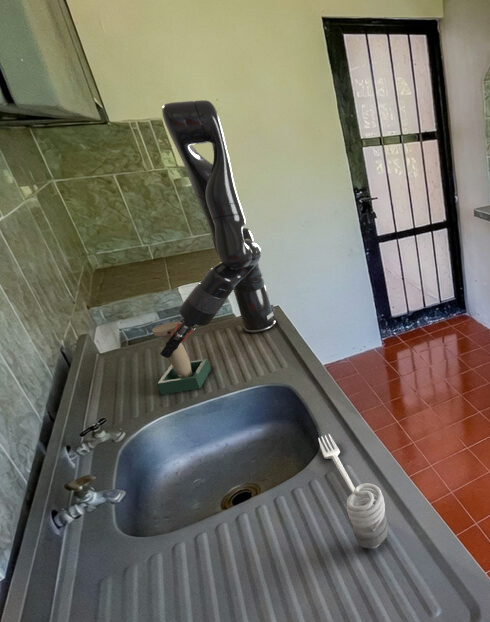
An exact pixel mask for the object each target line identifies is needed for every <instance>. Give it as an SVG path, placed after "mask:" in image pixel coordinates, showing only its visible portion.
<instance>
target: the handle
mask: <svg viewBox="0 0 490 622" xmlns="http://www.w3.org/2000/svg"><path fill="white" fill-rule="evenodd" d="M178 323H179V321H172V322H167V323H164V324H160V325H158V326H155V327H153V328H152V329H151V332H152V334H153V336H155V337H158V338H162V340H163V342H164V346H166V343H167V342H168V341H169V339H170V338H171V334H172V332H173V331H174V330H175V328H176V327H177V326H176V325H177V324H178ZM178 329H179V328H178ZM176 332H177V331H176ZM168 359H169V362H170V365H171V364H172V366H173V368H174V370H175V372H176V373H177V374H178V377H179V378H185V377H190V376H192V371H191V364H190V361H191V360H190V357H189V354H188V353H187V351H186V349H185V346H184V344H183V342H181V343H180V345H179V347H178V348H177V349H176V350H175V351H174V352H173V353H172V354H171V356H170V357H169V358H168Z"/></svg>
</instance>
